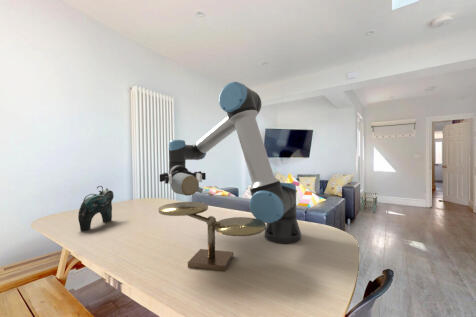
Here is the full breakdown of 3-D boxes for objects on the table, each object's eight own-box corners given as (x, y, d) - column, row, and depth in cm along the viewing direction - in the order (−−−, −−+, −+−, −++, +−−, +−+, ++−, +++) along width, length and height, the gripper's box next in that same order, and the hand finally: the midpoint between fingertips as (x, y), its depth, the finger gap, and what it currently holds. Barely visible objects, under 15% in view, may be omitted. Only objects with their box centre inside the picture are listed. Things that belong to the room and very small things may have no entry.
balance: (268, 255, 75) (267, 204, 75) (262, 281, 59) (262, 216, 59) (174, 247, 83) (174, 201, 83) (148, 268, 67) (147, 211, 67)
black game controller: (106, 219, 122) (106, 183, 122) (117, 219, 121) (116, 183, 121) (75, 231, 103) (75, 188, 103) (88, 231, 102) (87, 189, 102)
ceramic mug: (182, 197, 72) (182, 174, 72) (170, 194, 78) (170, 173, 78) (207, 194, 79) (208, 172, 79) (195, 191, 85) (195, 172, 85)
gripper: (204, 181, 98) (217, 188, 77) (152, 184, 90) (151, 192, 69) (204, 165, 98) (217, 166, 77) (152, 166, 90) (150, 168, 69)
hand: (186, 178), depth 73 cm, fingers closed on ceramic mug, 9 cm apart
